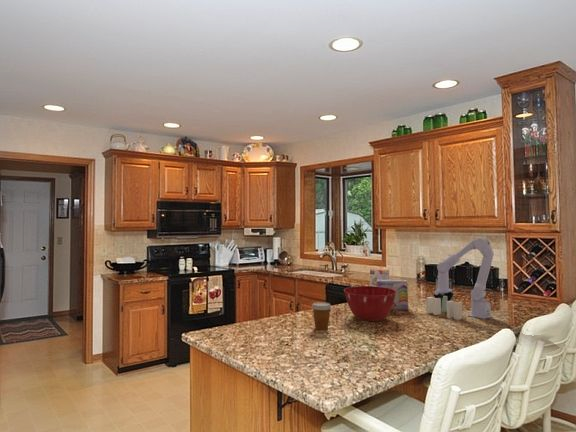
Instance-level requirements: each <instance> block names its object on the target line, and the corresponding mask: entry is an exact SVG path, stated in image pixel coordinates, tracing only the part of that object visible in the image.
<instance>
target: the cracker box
mask: <svg viewBox="0 0 576 432" xmlns="http://www.w3.org/2000/svg"><path fill="white" fill-rule="evenodd" d="M377 280H390V270H389V269H384V268H378V267H371V268H370V267H369V284H370V285H369V286H375V287H377Z"/></svg>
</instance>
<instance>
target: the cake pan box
mask: <svg viewBox="0 0 576 432" xmlns="http://www.w3.org/2000/svg"><path fill="white" fill-rule="evenodd" d="M377 287H384V288H390V289H393V290H395V291H396V292H397V293H396V295H395V299H394V302H393V305H392V307H391V309H390V310H396V311H397V310H399V311H400V310H401V311H402V310H403V311H406V310H409V292H408V291H409V289H408V280H407V279H389V280H377Z"/></svg>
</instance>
